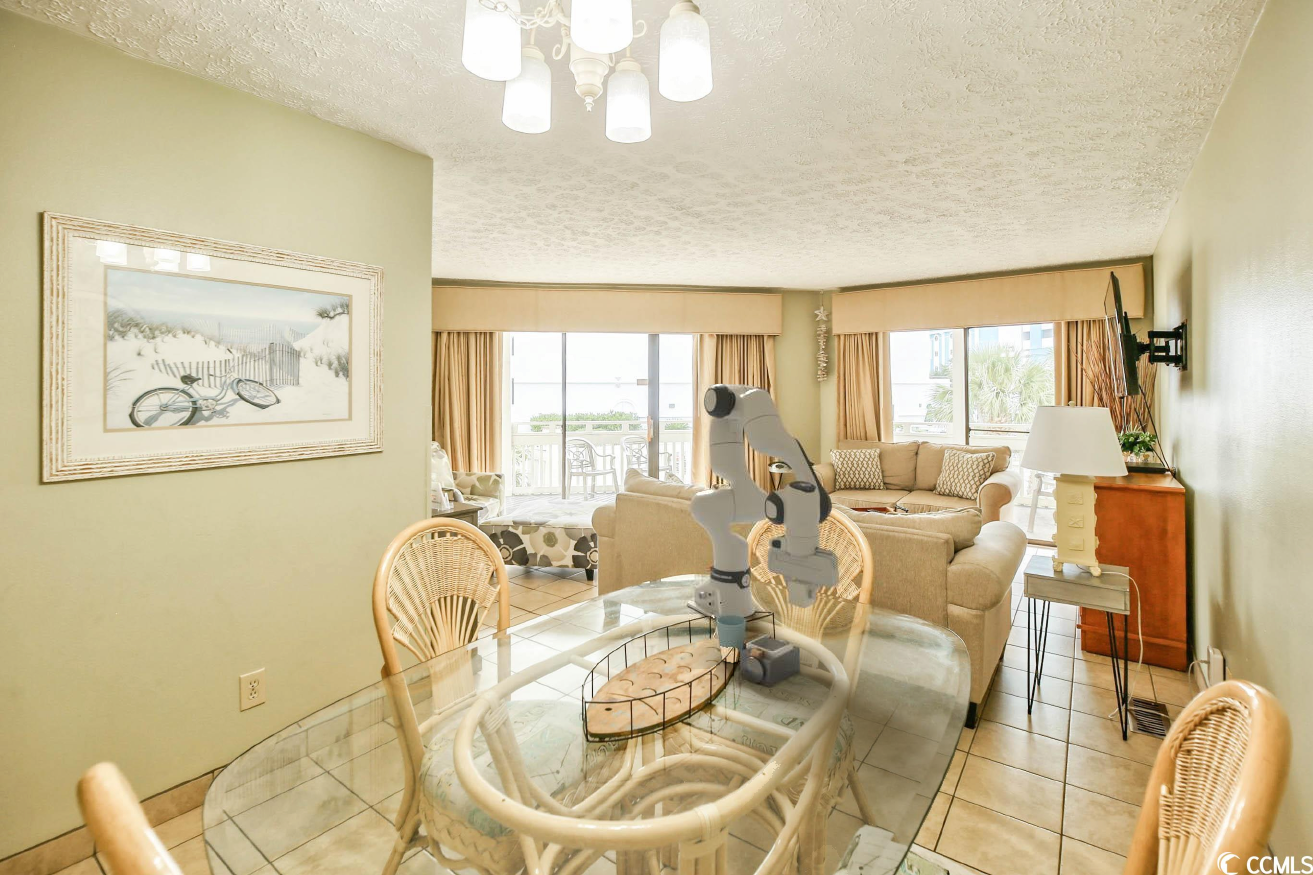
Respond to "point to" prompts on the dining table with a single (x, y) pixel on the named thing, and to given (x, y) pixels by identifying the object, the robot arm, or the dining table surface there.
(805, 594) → the pump block
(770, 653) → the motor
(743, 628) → the cup
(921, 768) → the dining table surface
